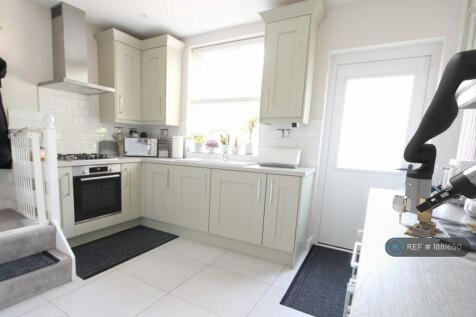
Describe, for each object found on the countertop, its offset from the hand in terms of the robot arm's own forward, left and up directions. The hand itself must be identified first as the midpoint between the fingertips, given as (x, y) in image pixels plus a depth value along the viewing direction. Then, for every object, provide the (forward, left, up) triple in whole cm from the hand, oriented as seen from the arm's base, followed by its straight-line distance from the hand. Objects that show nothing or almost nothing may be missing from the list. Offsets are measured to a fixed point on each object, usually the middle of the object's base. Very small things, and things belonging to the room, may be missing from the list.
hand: (424, 208), depth 73 cm
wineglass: (-8, -8, -11) cm, 16 cm away
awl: (0, 0, -9) cm, 9 cm away
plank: (-5, -1, -11) cm, 12 cm away
